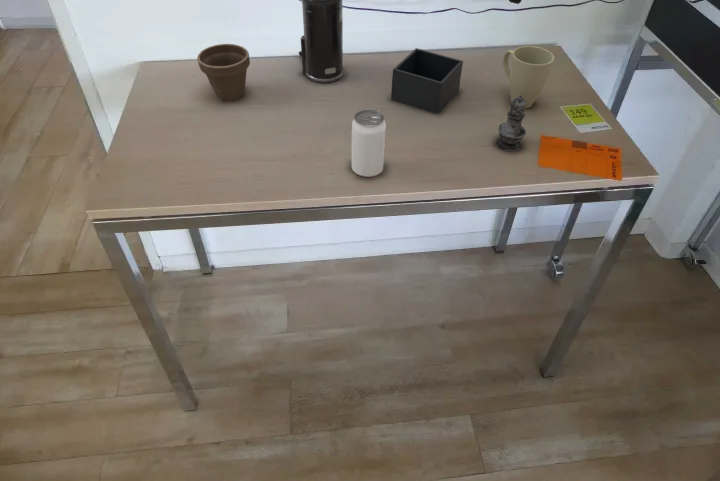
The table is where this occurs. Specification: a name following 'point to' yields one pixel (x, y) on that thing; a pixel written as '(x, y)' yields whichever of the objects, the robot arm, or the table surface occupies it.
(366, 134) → the can
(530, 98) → the mug
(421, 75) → the waste bin
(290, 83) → the table surface
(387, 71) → the table surface
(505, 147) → the grey chess piece
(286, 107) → the table surface
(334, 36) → the robot arm
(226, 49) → the flower pot
